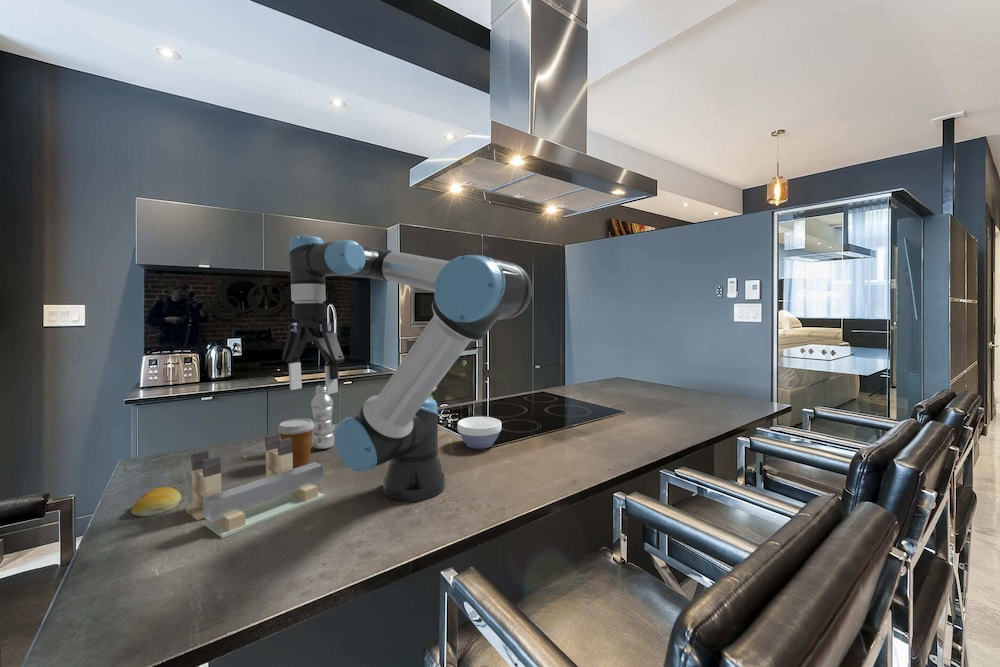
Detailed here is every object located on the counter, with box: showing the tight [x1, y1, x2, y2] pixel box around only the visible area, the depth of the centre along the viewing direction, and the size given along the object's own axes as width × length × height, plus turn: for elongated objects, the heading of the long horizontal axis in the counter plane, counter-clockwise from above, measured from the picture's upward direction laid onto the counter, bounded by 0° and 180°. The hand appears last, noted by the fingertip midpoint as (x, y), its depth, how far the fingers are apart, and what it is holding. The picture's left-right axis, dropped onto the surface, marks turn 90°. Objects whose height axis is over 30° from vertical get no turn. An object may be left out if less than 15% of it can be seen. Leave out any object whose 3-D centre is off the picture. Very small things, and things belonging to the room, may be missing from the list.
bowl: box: [456, 416, 502, 450], centre depth 139 cm, size 14×14×8 cm
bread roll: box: [131, 486, 182, 517], centre depth 96 cm, size 8×9×4 cm
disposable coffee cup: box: [277, 418, 314, 468], centre depth 122 cm, size 10×10×12 cm
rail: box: [203, 461, 324, 522], centre depth 94 cm, size 4×24×4 cm, turn 145°
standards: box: [186, 433, 294, 521], centre depth 100 cm, size 7×22×12 cm, turn 145°
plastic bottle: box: [310, 384, 335, 450], centre depth 135 cm, size 6×7×20 cm
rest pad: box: [205, 484, 326, 539], centre depth 94 cm, size 8×22×3 cm, turn 145°
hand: (313, 391), depth 102 cm, fingers open, 13 cm apart
